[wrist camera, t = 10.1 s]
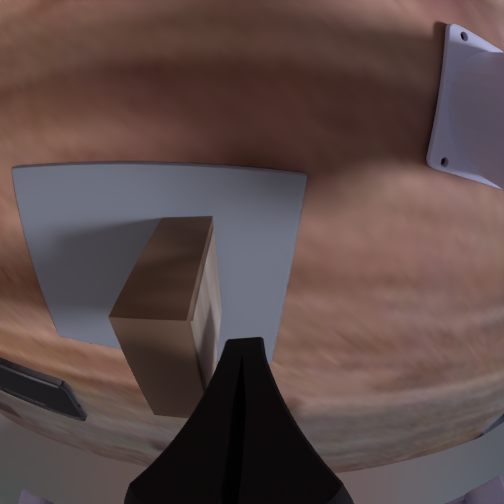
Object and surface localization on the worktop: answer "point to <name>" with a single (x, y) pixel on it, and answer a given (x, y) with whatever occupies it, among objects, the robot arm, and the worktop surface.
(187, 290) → the brown wooden block
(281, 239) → the rubber mat
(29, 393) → the phone
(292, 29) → the worktop surface
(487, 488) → the robot arm
